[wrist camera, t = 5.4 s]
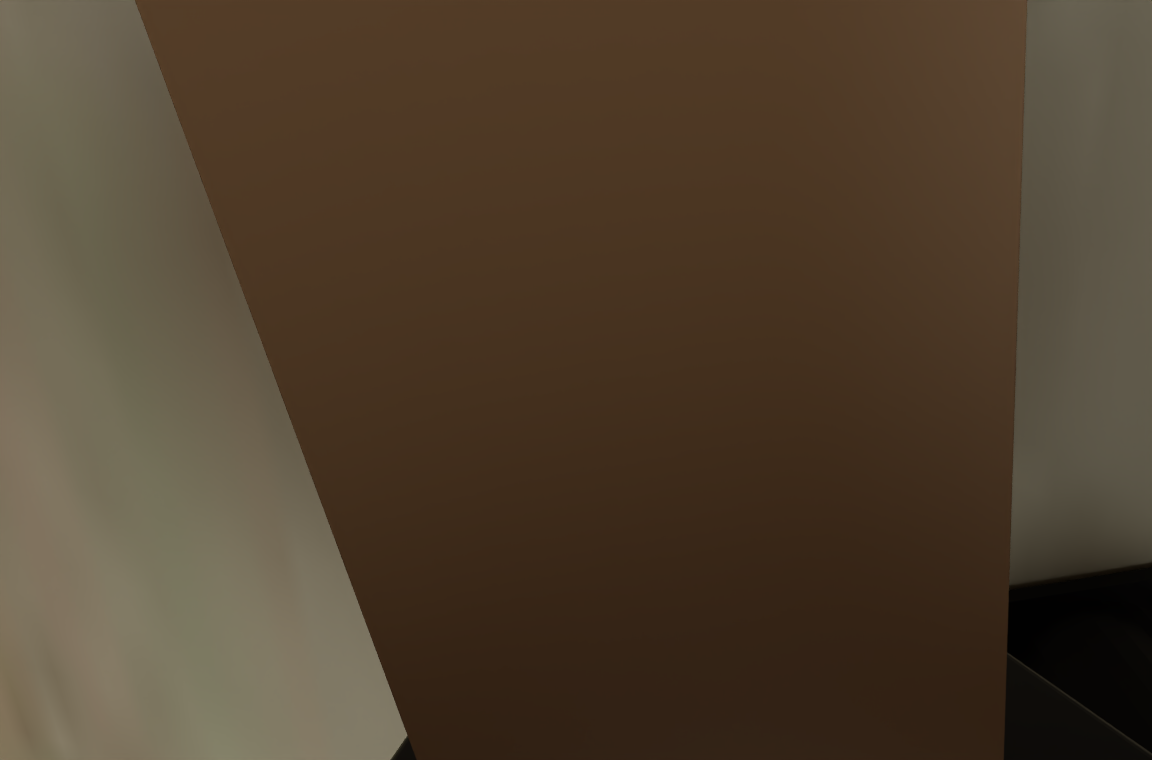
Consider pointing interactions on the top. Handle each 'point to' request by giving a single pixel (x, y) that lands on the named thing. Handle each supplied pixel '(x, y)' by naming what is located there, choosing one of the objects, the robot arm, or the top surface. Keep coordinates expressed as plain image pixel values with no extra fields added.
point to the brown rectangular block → (641, 353)
